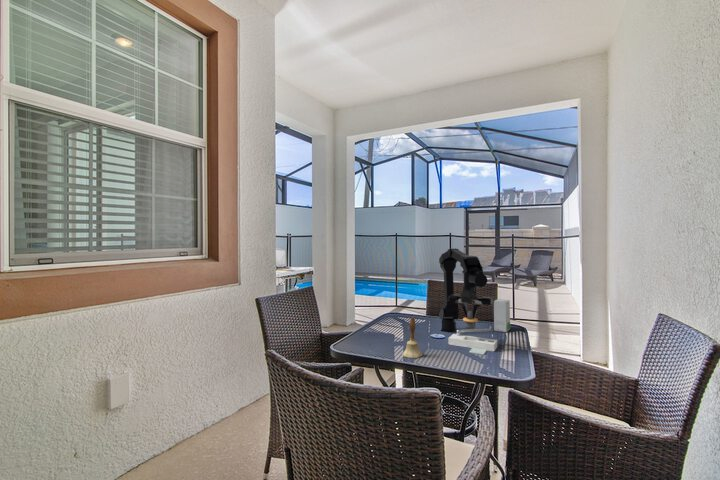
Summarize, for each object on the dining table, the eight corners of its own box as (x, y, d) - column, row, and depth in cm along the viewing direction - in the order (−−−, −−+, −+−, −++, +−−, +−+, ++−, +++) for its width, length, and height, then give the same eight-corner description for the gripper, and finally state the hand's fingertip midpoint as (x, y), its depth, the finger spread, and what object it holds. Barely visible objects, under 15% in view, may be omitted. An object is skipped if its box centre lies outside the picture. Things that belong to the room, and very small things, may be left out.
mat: (469, 352, 150) (469, 351, 150) (472, 348, 155) (472, 347, 155) (483, 355, 147) (483, 354, 147) (486, 350, 152) (486, 349, 152)
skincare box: (506, 332, 180) (506, 302, 179) (493, 330, 184) (492, 300, 183) (510, 329, 186) (510, 299, 186) (497, 327, 190) (497, 298, 190)
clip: (457, 332, 164) (457, 328, 164) (455, 331, 166) (455, 327, 166) (492, 331, 166) (492, 327, 166) (490, 330, 168) (490, 326, 168)
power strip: (448, 344, 162) (448, 335, 162) (453, 340, 168) (453, 331, 168) (494, 351, 151) (494, 341, 151) (497, 346, 158) (497, 337, 158)
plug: (461, 328, 159) (461, 311, 159) (465, 325, 164) (465, 308, 164) (475, 330, 156) (475, 312, 155) (479, 327, 161) (479, 309, 161)
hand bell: (405, 350, 154) (405, 314, 153) (424, 353, 150) (423, 316, 150) (400, 356, 146) (399, 318, 146) (419, 359, 143) (419, 320, 142)
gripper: (444, 284, 158) (444, 319, 158) (487, 287, 148) (488, 324, 148) (451, 281, 167) (452, 314, 167) (493, 284, 157) (493, 319, 158)
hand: (470, 318), depth 160 cm, fingers closed on plug, 3 cm apart
